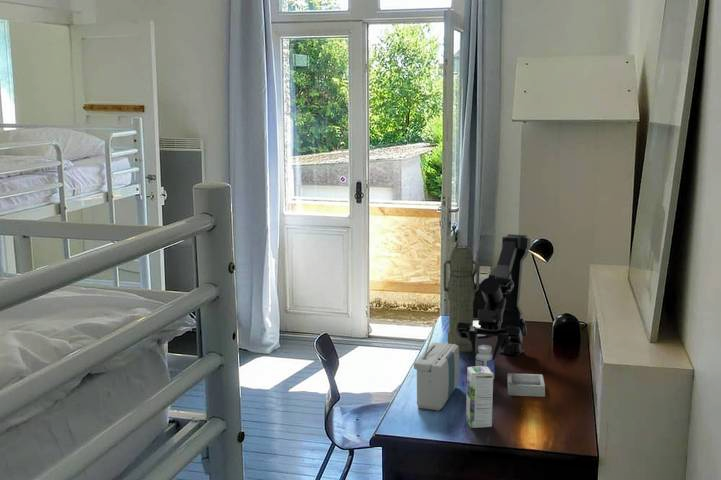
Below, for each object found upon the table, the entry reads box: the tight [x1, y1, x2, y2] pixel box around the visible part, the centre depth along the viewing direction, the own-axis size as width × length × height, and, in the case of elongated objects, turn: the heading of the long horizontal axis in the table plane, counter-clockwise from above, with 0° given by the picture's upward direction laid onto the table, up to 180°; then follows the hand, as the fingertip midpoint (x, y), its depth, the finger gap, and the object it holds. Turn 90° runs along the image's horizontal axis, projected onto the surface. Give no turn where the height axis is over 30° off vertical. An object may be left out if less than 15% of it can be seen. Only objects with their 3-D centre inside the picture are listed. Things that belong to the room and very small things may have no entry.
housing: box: [507, 372, 546, 398], centre depth 222 cm, size 10×10×3 cm
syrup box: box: [465, 365, 494, 429], centre depth 198 cm, size 6×6×14 cm
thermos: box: [443, 245, 481, 354], centre depth 258 cm, size 9×12×35 cm
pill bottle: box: [475, 344, 495, 380], centre depth 224 cm, size 5×5×10 cm
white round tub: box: [473, 320, 487, 338], centre depth 280 cm, size 10×10×4 cm
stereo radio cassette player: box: [413, 320, 461, 412], centre depth 216 cm, size 21×8×20 cm, turn 160°
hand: (483, 358), depth 223 cm, fingers closed on pill bottle, 5 cm apart
